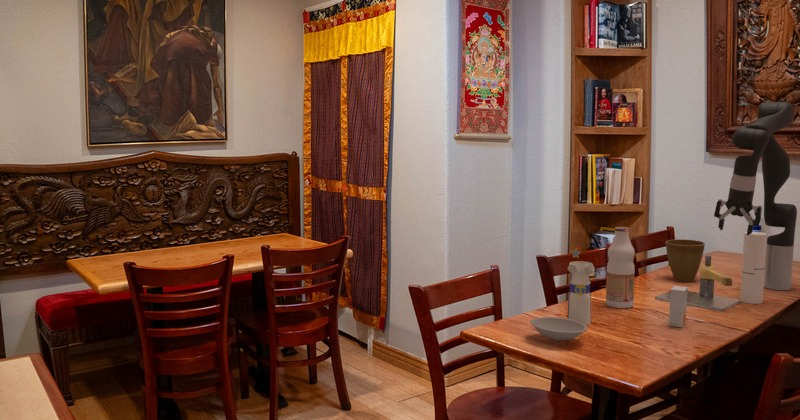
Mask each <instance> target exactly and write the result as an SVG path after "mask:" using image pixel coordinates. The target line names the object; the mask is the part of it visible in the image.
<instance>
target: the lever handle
mask: <svg viewBox="0 0 800 420" xmlns="http://www.w3.org/2000/svg"><path fill="white" fill-rule="evenodd" d="M699 277H700V278H702V279H713V280H714V282H717V283H720V284H721V285H723V286H725V287H732V285H733V278H731V277H729V276H726V275H724V274H722V273H720V272H718V271H716V266H715V265H712V264H711V266H706V265H705V264H700V274H699ZM700 278H699V279H700Z"/></svg>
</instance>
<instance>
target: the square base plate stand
mask: <svg viewBox="0 0 800 420" xmlns="http://www.w3.org/2000/svg"><path fill="white" fill-rule="evenodd" d="M704 260H705V261H704V265H706V266H711V265H712V255H707V254H706V255H705V256H704ZM714 292H715V280H713V279H702V278H699V290H698V292H696V291H692V290H691V291H690V290H687V306H690V307H695V308H702V309H707V310H711V311H717V312H724V311H726V310H727V309H730V308H732V307H734V306H736V305H739V304H741V302H742V301H741V299H738V298H732V297H727V296H720V295H715V294H714ZM670 293H671V290H669V291H666V292H663V293H661V294H658V295H655V296H654V300H657V301H658V300H659V301H663V302H668V303H670Z"/></svg>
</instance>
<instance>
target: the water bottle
mask: <svg viewBox="0 0 800 420" xmlns="http://www.w3.org/2000/svg"><path fill="white" fill-rule="evenodd" d="M577 249H578V248H575V249H574V250H571V251H570V252H571V253H572V258H573V259H574V258H578V259H580V257H579V255H580V254H581V253H582V252H581V251H578V250H577ZM567 271H569V272H570V279H569V280H568V282H569V292H568V299H567V316H566V317H567V318H566V319H571V320H575V321H578V322H581V323H583V324H585V325H586V326H587V325H590V324H591V323H592V294H591V284H592V281H591V278H590V275H592V274H593V273H594V272H595V271H596V269H595V266H594V265H593V263H592V262H589V261H582V260H581V261H570V262H569V264H568V267H567Z"/></svg>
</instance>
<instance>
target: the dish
mask: <svg viewBox="0 0 800 420" xmlns="http://www.w3.org/2000/svg"><path fill="white" fill-rule="evenodd" d="M529 323H530V325H531V326H532V327H534V329H535V330H536V331H537V333H539V334H541V335H542V336H543V337H546V338H548V339H551V340H554V341H556V342H561V341H570V340H573V339H574V340H575V339H576V338H577V337H579V336H581V335H582V334H583V333H584V332H586V331H587V330H588V326H587V325H585V324H583V323H581V322H578V321H575V320H571V319H567V318H564V317H563V318H562V317H555V316H540V317H536V318H533V319H531V320H530V321H529Z"/></svg>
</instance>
